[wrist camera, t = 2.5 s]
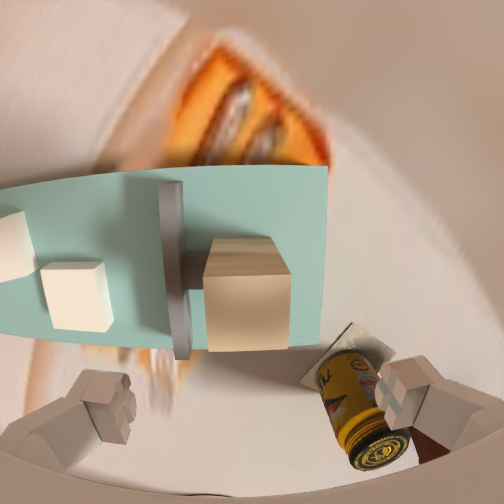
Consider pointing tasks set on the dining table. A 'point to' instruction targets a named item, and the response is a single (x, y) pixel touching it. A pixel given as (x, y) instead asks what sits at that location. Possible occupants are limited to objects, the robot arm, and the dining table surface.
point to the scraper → (223, 286)
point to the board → (150, 246)
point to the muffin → (426, 446)
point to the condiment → (357, 399)
